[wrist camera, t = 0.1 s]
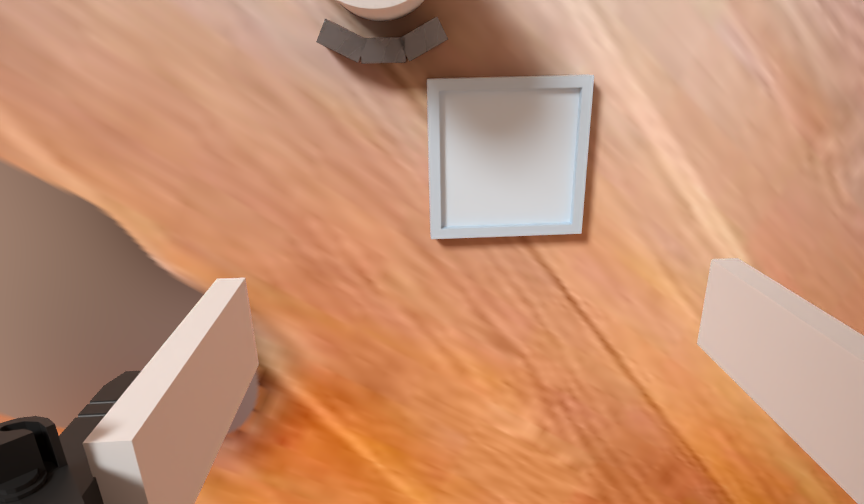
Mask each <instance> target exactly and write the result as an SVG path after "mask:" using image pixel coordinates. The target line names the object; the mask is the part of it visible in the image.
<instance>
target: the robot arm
mask: <svg viewBox="0 0 864 504" xmlns="http://www.w3.org/2000/svg"><path fill="white" fill-rule="evenodd" d="M697 344H698V345H699V346H700V347H701V348H702V349H703V350H704V351H705V352H706V353H707V354H708V355H709V356H710V357H711V358H712V359H713V360H714V361H715V362H716V363H717V364H718V365H719V366H720V367H721V368H722V369H723V370H724V371H725V372H726V373H727V374H728V375H729V376H730V377H731V378H732V379H733V380H734V381H735V382H736V383H737V384H738V385H739V386H740V387H741V388H742V389H743V390H744V391H745V392H746V393H747V394H748V395H749V396H750V397H751V398H752V399H753V400H754V401H755V402H756V403H757V404H758V405H759V406H760V407H761V408H762V409H763V410H764V411H765V412H766V413H767V414H768V415H769V416H770V417H771V418H772V419H773V420H774V421H775V422H776V423H777V424H778V425H779V426H780V427H781V428H782V429H783V430H784V431H785V432H786V433H787V434H788V435H789V436H790V437H791V438H792V439H793V440H794V441H795V442H796V443H797V444H798V445H799V446H800V447H801V448H802V449H803V450H804V451H805V452H806V453H807V454H808V455H809V456H810V457H811V458H812V459H813V460H814V461H815V462H816V463H817V464H818V465H819V466H820V467H821V468H822V469H823V470H824V471H825V472H826V473H827V474H828V475H829V476H830V477H831V478H832V479H833V480H834V481H835V482H836V483H837V484H838V485H839V486H840V487H841V488H842V489H843V490H844V491H845V492H846V493H847V494H848V495H849V496H851V497H852V498H853V499H854V500H855V501H856V502H857V503H858V504H864V336H863V335H862V334H860V333H858V332H857V331H855V330H854V329H852V328H850V327H849V326H847V325H845V324H844V323H842V322H841V321H839V320H837V319H836V318H834V317H833V316H831V315H829V314H828V313H826V312H824V311H823V310H821V309H820V308H818V307H816V306H815V305H813V304H811V303H810V302H808V301H807V300H805V299H803V298H802V297H800V296H798V295H797V294H795V293H794V292H792V291H790V290H789V289H787V288H785V287H784V286H782V285H781V284H779V283H777V282H776V281H774V280H772V279H771V278H769V277H768V276H766V275H764V274H763V273H761V272H759V271H758V270H756V269H755V268H753V267H751V266H750V265H748V264H746V263H745V262H743V261H742V260H740V259H738V258H728V259H711V265H710V271H709V277H708V283H707V289H706V294H705V300H704V306H703V312H702V318H701V324H700V329H699V335H698V341H697ZM258 365H259V363H258V356H257V350H256V343H255V337H254V330H253V324H252V318H251V311H250V305H249V298H248V292H247V285H246V279H245V278H225V279H217V280H216V281H215V282H214V283H213V284H212V286H211V287H210V288H209V289H208V290H207V292H206V293H205V294H204V295H203V297H202V298H201V299H200V300H199V301H198V303H197V304H196V305H195V306H194V308H193V309H192V310H191V311H190V312H189V314H188V315H187V316H186V317H185V319H184V320H183V321H182V322H181V324H180V325H179V326H178V327H177V328H176V330H175V331H174V332H173V333H172V334H171V336H170V337H169V338H168V340H167V341H166V342H165V343H164V344H163V345H162V347H161V348H160V349H159V350H158V352H157V353H156V354H155V355H154V356H153V358H152V359H151V360H150V361H149V363H148V364H147V365H146V366H145V367H144V369H143V370H142V371H129V372H124V373H123V374H121V375H120V376H118V377H117V378H115V379H114V380H112V381H110V382H109V383H107V384H106V385H104V386H103V387H102V389H101V390H100V391H99V392H98V393H97V394H96V395H95V396H94V397H93V399H92V400H91V401H90V404H88V405H86V407H85V408H84V409H83V410H82V411H81V412H80V413H79V415H78V418H75V419H74V420H73V421H72V422H71V423H70V425H69V426H68V427H67V428H66V429H65V430H64V431H63V432H62V433H61V434H60V435H58V432H57V429H56V426H55V424H54V423H53V422H52V421H51V420H50V419H48V418H44V417H37V416H33V417H24V418H17V419H13V420H10V421H6V422H3V423H0V504H194V503H195V501H196V499H197V497H198V495H199V493H200V490H201V488H202V486H203V484H204V482H205V480H206V477H207V475H208V473H209V471H210V469H211V467H212V464H213V462H214V460H215V458H216V456H217V454H218V451H219V449H220V447H221V445H222V443H223V441H224V438H225V436H226V434H227V432H228V430H229V428H230V425H231V423H232V421H233V419H234V417H235V415H236V412H237V410H238V408H239V406H240V403H241V401H242V399H243V397H244V395H245V393H246V391H247V389H248V386H249V384H250V382H251V380H252V378H253V376H254V373H255V371H256V369H257V367H258Z"/></svg>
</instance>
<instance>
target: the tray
mask: <svg viewBox="0 0 864 504" xmlns="http://www.w3.org/2000/svg"><path fill="white" fill-rule="evenodd" d="M593 84H594V75H551V76H511V77H471V78H431V79H427V114H428V156H429V198H430V235H431V239H450V238H477V237H504V236H531V235H558V234H582V222H583V209H584V196H585V184H586V171H587V159H588V146H589V134H590V121H591V109H592V96H593Z"/></svg>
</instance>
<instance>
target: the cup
mask: <svg viewBox="0 0 864 504" xmlns="http://www.w3.org/2000/svg"><path fill="white" fill-rule="evenodd" d="M336 1H337V2H338V3H340V4H341V5H342V6H344V7H345V8H346V9H348V10H349V11H350V12H352V13H354V14H355V15H357V16H360V17H362V18H365V19H368V20H373V21H391V20H395V19H399V18H401V17H404V16H406V15H408V14H409V13H411V12H412V11H414V10H415V9H416V8H417V7H419V6H420V5H421V4H422V3H423V1H424V0H336Z"/></svg>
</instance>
